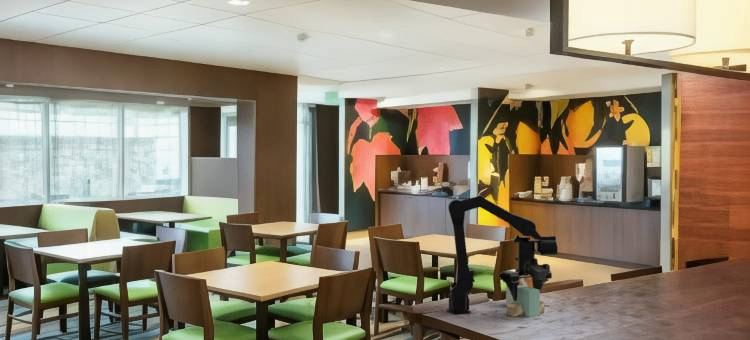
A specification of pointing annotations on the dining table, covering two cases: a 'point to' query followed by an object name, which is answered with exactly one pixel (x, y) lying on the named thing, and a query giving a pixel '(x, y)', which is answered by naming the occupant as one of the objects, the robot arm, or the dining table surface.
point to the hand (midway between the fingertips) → (525, 299)
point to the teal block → (528, 300)
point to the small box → (522, 281)
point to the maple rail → (516, 308)
